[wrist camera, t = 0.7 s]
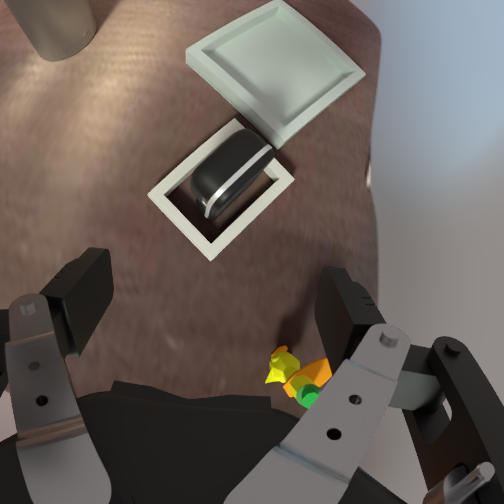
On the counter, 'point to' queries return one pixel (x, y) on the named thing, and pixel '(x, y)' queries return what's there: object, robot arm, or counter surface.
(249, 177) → the battery charger
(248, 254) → the counter surface
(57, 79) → the counter surface
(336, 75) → the tray
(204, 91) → the counter surface
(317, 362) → the toy figure
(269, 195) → the white rectangular frame
